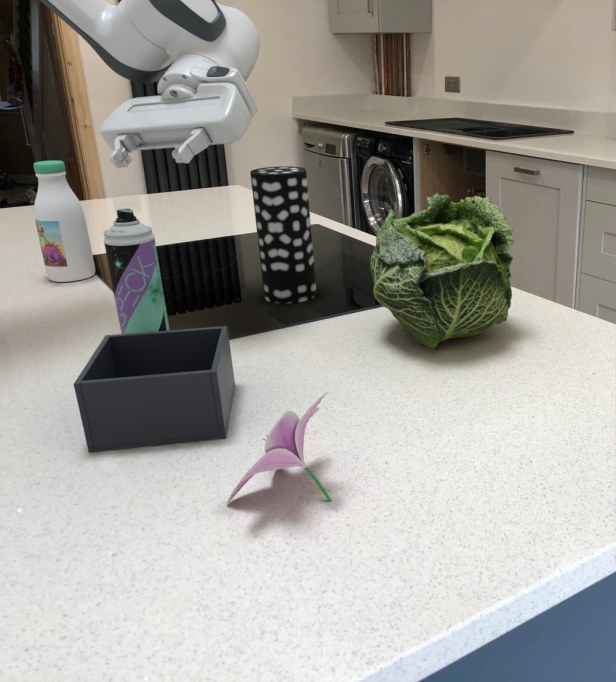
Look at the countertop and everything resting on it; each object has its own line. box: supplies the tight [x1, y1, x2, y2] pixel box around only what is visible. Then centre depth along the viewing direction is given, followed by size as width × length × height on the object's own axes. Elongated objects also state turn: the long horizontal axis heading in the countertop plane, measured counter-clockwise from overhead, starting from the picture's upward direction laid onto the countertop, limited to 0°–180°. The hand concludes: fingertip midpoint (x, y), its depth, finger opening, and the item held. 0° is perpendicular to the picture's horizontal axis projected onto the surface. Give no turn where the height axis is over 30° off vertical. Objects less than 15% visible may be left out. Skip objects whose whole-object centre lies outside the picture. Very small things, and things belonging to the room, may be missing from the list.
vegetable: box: [370, 192, 516, 350], centre depth 100 cm, size 20×19×20 cm
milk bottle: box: [33, 160, 96, 283], centre depth 126 cm, size 8×8×20 cm
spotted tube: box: [249, 165, 318, 305], centre depth 115 cm, size 8×8×20 cm
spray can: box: [103, 208, 170, 334], centre depth 88 cm, size 6×6×20 cm
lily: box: [226, 390, 332, 505], centre depth 64 cm, size 12×12×10 cm
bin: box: [73, 325, 236, 453], centre depth 79 cm, size 13×13×8 cm
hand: (147, 161), depth 91 cm, fingers open, 8 cm apart
